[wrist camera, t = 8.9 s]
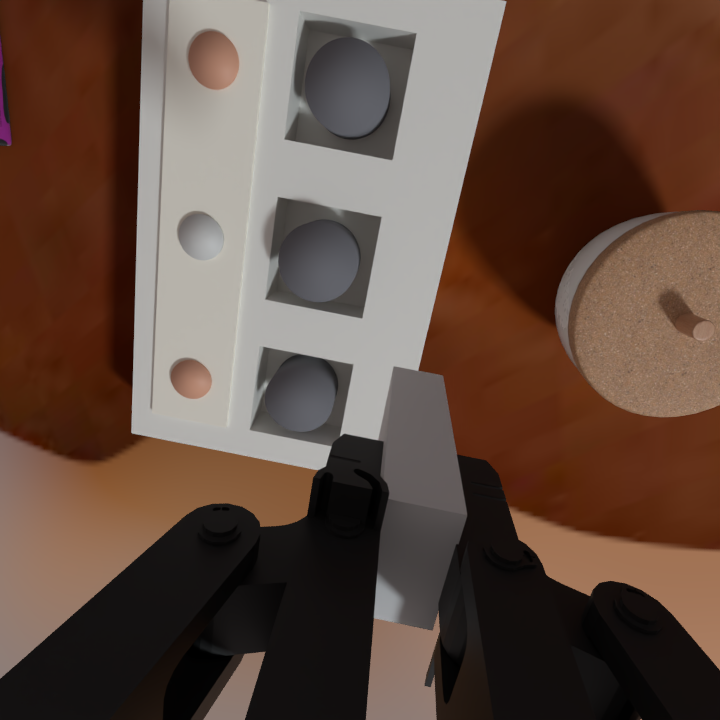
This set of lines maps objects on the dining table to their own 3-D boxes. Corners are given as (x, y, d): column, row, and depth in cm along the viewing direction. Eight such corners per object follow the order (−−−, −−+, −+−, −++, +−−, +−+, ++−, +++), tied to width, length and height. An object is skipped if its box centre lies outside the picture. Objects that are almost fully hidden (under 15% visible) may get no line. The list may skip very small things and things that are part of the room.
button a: (397, 61, 27) (397, 46, 24) (382, 146, 28) (380, 141, 26) (320, 46, 27) (311, 29, 24) (308, 131, 28) (299, 125, 26)
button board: (491, 28, 27) (508, -3, 23) (391, 454, 37) (390, 488, 32) (179, -32, 27) (139, -74, 23) (158, 408, 37) (127, 436, 33)
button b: (366, 227, 29) (363, 230, 26) (353, 298, 30) (349, 308, 28) (294, 212, 29) (283, 215, 26) (285, 284, 30) (273, 294, 28)
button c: (343, 360, 33) (338, 376, 30) (332, 417, 34) (327, 437, 32) (279, 347, 33) (268, 362, 30) (272, 405, 34) (261, 424, 32)
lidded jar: (524, 367, 34) (570, 429, 25) (544, 206, 30) (605, 211, 21) (685, 371, 33) (790, 436, 24) (723, 206, 30) (864, 212, 21)
